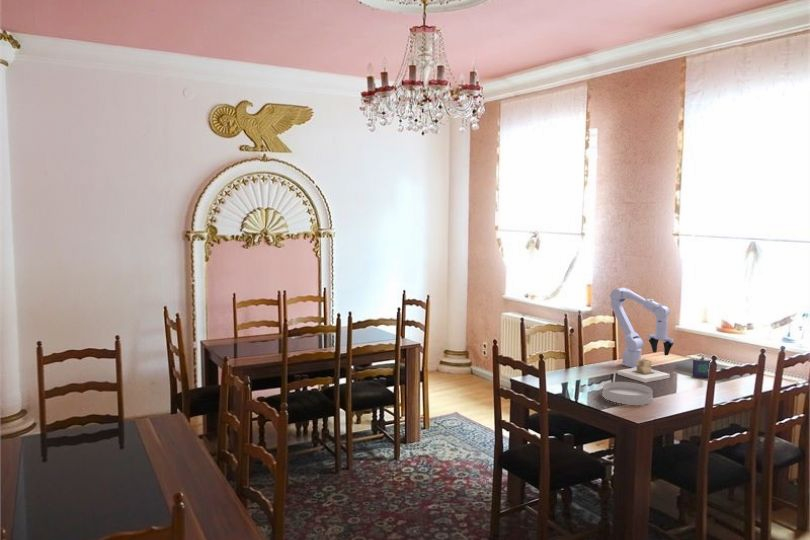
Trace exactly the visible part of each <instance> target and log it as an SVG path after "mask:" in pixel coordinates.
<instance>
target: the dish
mask: <svg viewBox="0 0 810 540" xmlns="http://www.w3.org/2000/svg"><path fill="white" fill-rule="evenodd" d="M653 392H654V391H653V389H652V388H651V387H650V386H648V385H645V384H643V383H637V382H629V381H613V382H606V383H603V385H602V391H601V397H602V396H603V397H604V398H605V399H607V400H610V401H613V402H617V403H622V404H629V405H641V406H646V405H645V404H648V405H650V404H652V403H653V402H654V400H653V399H654V397H653ZM603 397H602V398H603ZM605 399H604V400H605ZM607 400H606V401H607ZM652 401H653V402H652ZM651 402H652V403H651ZM649 403H650V404H649ZM629 405H628V406H629Z"/></svg>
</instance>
